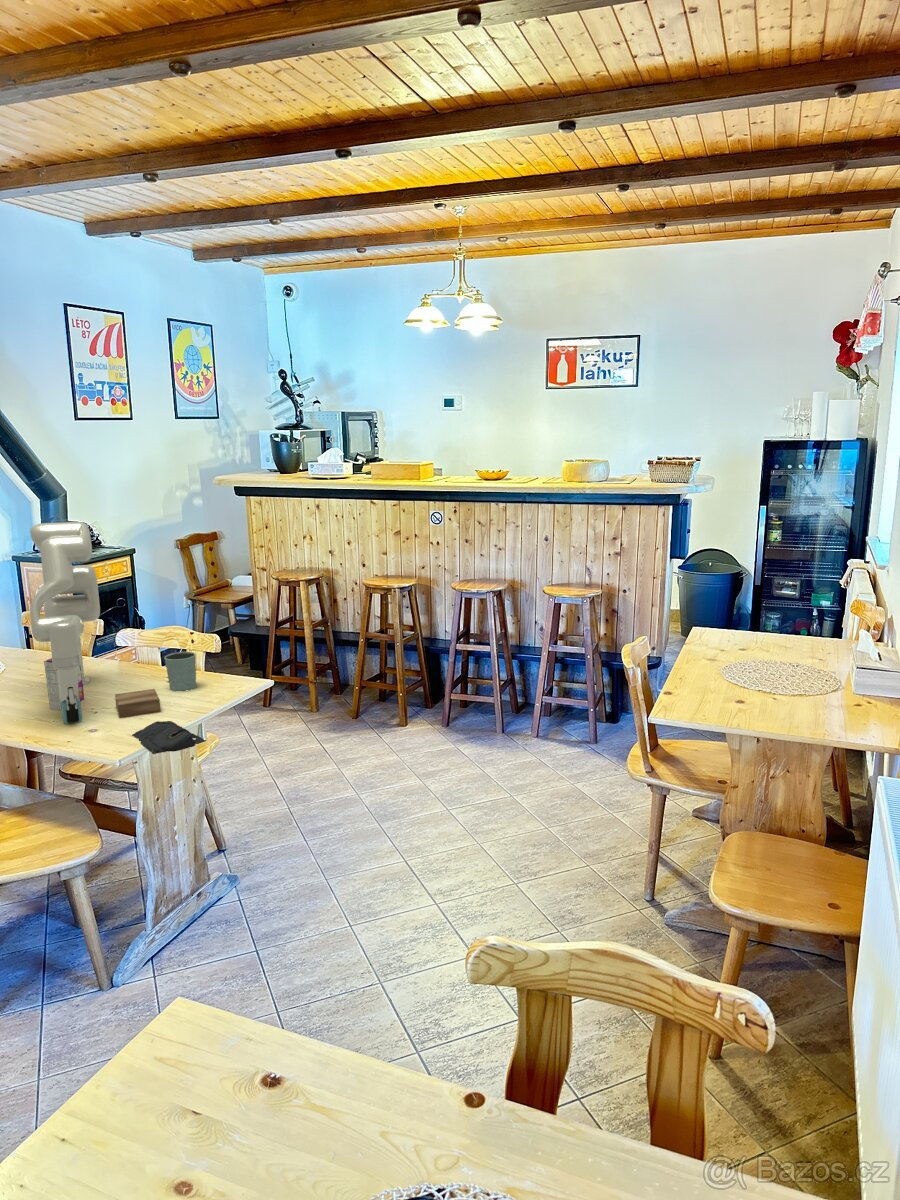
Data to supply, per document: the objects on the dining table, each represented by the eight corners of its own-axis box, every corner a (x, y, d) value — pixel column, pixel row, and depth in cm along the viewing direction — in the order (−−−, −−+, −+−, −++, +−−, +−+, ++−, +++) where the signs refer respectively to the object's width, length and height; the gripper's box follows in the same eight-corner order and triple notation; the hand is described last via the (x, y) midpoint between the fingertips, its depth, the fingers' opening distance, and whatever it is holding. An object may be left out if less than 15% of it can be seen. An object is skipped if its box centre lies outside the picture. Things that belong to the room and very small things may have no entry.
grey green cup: (201, 690, 272) (198, 656, 270) (170, 695, 267) (167, 660, 265) (193, 682, 281) (191, 650, 279) (164, 687, 276) (161, 654, 274)
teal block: (62, 720, 244) (60, 698, 242) (80, 717, 246) (78, 696, 245) (64, 725, 240) (61, 703, 238) (82, 722, 242) (80, 700, 241)
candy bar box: (71, 699, 264) (66, 651, 261) (85, 699, 263) (80, 652, 260) (48, 710, 253) (43, 660, 250) (62, 711, 252) (57, 661, 249)
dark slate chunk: (178, 726, 240) (177, 711, 239) (209, 746, 224) (208, 730, 223) (126, 738, 230) (125, 722, 229) (155, 761, 214) (153, 744, 213)
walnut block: (116, 709, 255) (115, 694, 254) (155, 703, 260) (154, 688, 259) (119, 720, 244) (118, 705, 243) (160, 714, 250) (159, 699, 249)
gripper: (50, 656, 245) (56, 713, 248) (54, 670, 230) (61, 729, 234) (77, 653, 248) (82, 708, 252) (83, 666, 234) (89, 725, 237)
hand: (72, 718), depth 243 cm, fingers closed on teal block, 5 cm apart
